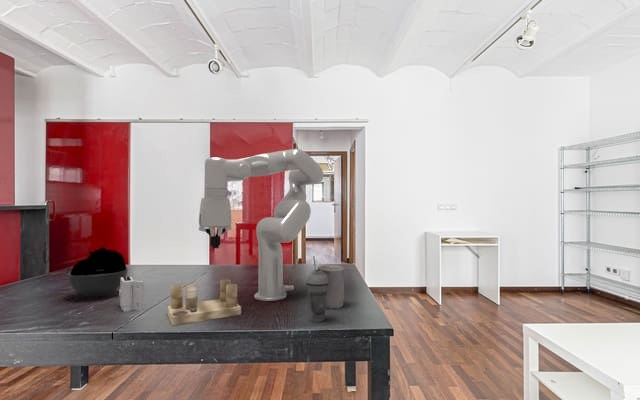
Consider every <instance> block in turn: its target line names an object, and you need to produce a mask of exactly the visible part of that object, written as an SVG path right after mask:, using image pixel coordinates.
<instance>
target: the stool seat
mask: <svg viewBox="0 0 640 400" xmlns="http://www.w3.org/2000/svg"><path fill="white" fill-rule="evenodd" d="M231 281H232V280H231V279H228V278H226V279H220V281H219V299H217V298H216V299H210V300H205V301H197V311H195V312H191V311H190V310H189V309H186V303H183V299H184V298H183V296H184V293H183V292H184V290H183V289H184V286H183V284H173V285H171V286H170V305H168V306H167V317H168V319H169V321H170V323H171V326H179V325H184V324H185V325H186V324H190V323H198V322H202V321H209V320H214V319H221V318H228V317H233V316H240V315H242V306H241V305H240V304H238V284H237V283H231Z"/></svg>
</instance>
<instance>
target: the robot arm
mask: <svg viewBox="0 0 640 400" xmlns="http://www.w3.org/2000/svg"><path fill="white" fill-rule="evenodd" d="M287 171H289V173H288V182H289V189H288V191H287V192H286V194H285V196H284V197H282V199H280V201H279V203H277V205H276V206H275V209H274V211H273V216H272V217H271V216H270V217H269V216H267V217H264V218H262V219H260V220H259V221H258V223H257V224H256V228H255V230H256V231H255V233H256V239H257V243H258V244H257V246H258V290H257V292H256V293H255V294H254V299H255V300H257V301H263V302H275V301H280V300H284V299H285V298H287V292H288V291H289V292H290V291H294V290H295V286H294V285H293V284H292V285H287V284H286V285H285V284H283V277H284V274H283V271H284V265H283V263H284V262H283V261H284V260H283V259H284V258H283V257H284V253H283V252H284V251H283V247H282V244H281V243H283V244H284V243H285V244H286V243H287V244H288V243H290V242H293V241H294V240H295V239H296V238H297V237H298V235H299V234H300V232H301V231H302V230H303V228H304V227H305V226H306V225H307V223H308V221H309V220H310V218H311V212H312V210H311V206H310V204H309V203H308V201H307V192H306V190H305V189H306V188H305V186H310V185H318V184H320V183H321V182H322V181H323V179H324V171H323V169H322V167H321V166H320V164H319V163H318V162H317V161H315V159H314V158H313V157H311V155H309V153H307V152H306V151H304V150H303V149H300V148H293V149H286V150H278V151H273V152H266V153H260V154H256V155H253V156H248V157H244V158H237V159H227V158H223V157H215V156H212V157H208V158H206V159H205V160H204V185H203V186H204V191H203V193H204V195H203V196H204V197H201V200H200V204H199V214H198V215H199V216H198V225H199V226H198V231H200V232H205V233H206V234H207V235H208V236H210V238H209V239H210V241H209V243H210V244H209V245H210V247H211V248H212V249H214V250H215V249H219V248H220V246H221V236H222V235H223V234H224V233H226V232H229V231H231V230H232V208H231V203H230V198H228V197H229V196H231V195H232V191H231V190H229V189H228V183H229V182H241V181H244V180H246V179H248V178H255V177H265V176H270V175H274V174H278V173H282V172H287ZM215 228H216V233H215Z"/></svg>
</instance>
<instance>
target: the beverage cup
mask: <svg viewBox="0 0 640 400" xmlns="http://www.w3.org/2000/svg"><path fill="white" fill-rule="evenodd" d="M312 258H313V267H314V270H312V271H310V273H309V274H308V276H307V277H306V283H305V284H306V290H307V296H308V297H307V298H308V300H307V301H308V310H309V319H310V321H311V322H315V323H319V322H320V321H321V322H324V321H325V317H326V309H325V308H326V296H327V289H328V284H329V282H328V278H327V275H326V274H325V273H324V272H323V271H321V270H318V269H317V266H316V257H315V256H314V255H313V256H312ZM323 320H324V321H323ZM321 322H320V323H321Z"/></svg>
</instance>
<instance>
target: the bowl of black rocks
mask: <svg viewBox="0 0 640 400" xmlns="http://www.w3.org/2000/svg"><path fill="white" fill-rule="evenodd" d="M88 253H89V254H90V255H89V256H88V257H87V258H85V259H82V260H79V261H78V262H76V263H75V264H74V265H72V266H73V267H72V269H71V271H70V272H68V273H67V280H68V283H69V285H70V287H71V288H72V289H73V290H74V291H75V292H76V293H78V294H80V295H82V296H85V297H91V298H98V297H103V296H106V295H110V294H111V293H113V292H115V291H116V290H117V289H118V288H120V281H121V277H125V278H126V279H127V276H128V275H127V274H128V268H127V264H126V262H125V258H124V256H123V254H122V253H121V252H119V251H116V250H114V249H113V250H111V249H106V247H105V246H103V247H100V248H98V249H96V250H94V251H89V252H88Z"/></svg>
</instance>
